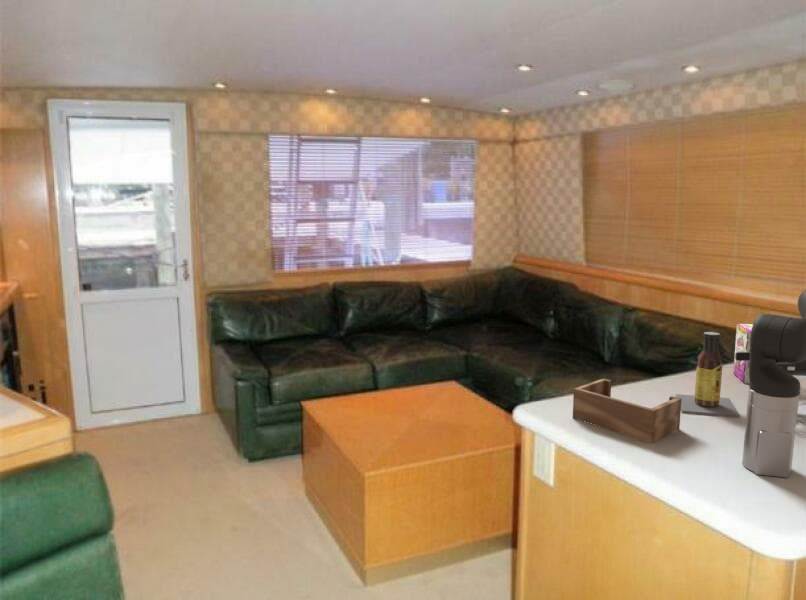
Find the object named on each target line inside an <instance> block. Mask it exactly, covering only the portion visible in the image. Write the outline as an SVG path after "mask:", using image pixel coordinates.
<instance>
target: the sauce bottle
mask: <svg viewBox="0 0 806 600" xmlns="http://www.w3.org/2000/svg"><path fill="white" fill-rule="evenodd" d="M702 336H703V338H702V339H703V344H702V350H701V351H700V353H699V354H698V356H697V365H696V373H695V387H694V396H695V403H696V404H698V405H700V406H705V407H715V406H718V404H719V400H720V398H721V388H722V375H723V364H724V363H723V359H722V356H721V354H720V349H719V345H720V344H719V343H720V339H721V334H720V333H719V332H715V331H704V332H703V335H702Z"/></svg>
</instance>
